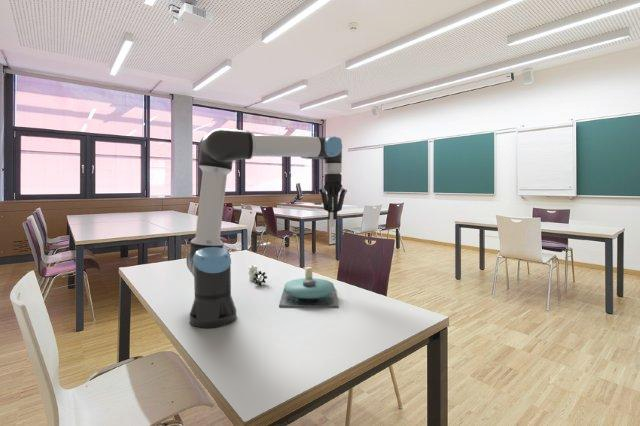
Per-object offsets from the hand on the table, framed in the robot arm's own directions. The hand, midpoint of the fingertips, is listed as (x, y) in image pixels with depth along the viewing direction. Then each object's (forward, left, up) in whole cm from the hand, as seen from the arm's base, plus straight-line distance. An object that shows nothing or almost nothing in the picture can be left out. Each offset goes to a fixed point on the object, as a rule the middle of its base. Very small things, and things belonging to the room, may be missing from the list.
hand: (332, 226), depth 148 cm
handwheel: (-16, +10, -24) cm, 30 cm away
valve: (+5, +35, -27) cm, 45 cm away
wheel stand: (-16, +10, -27) cm, 33 cm away
